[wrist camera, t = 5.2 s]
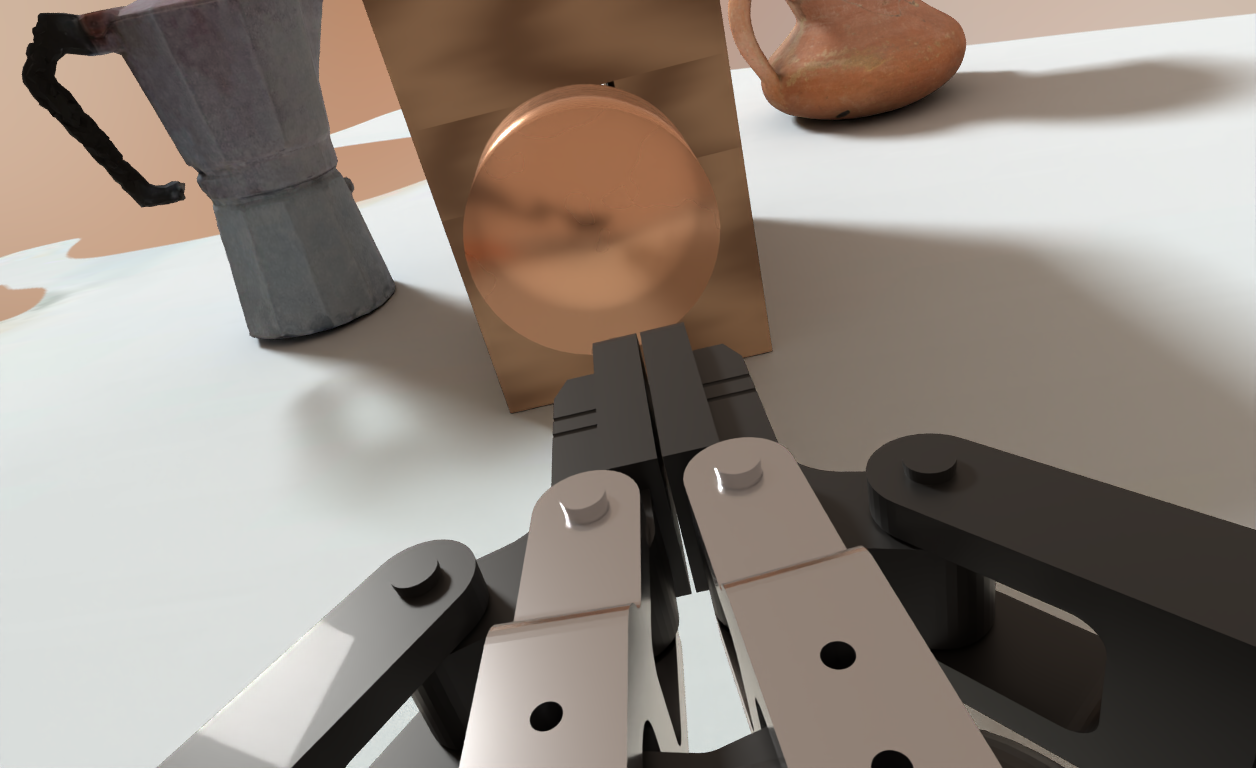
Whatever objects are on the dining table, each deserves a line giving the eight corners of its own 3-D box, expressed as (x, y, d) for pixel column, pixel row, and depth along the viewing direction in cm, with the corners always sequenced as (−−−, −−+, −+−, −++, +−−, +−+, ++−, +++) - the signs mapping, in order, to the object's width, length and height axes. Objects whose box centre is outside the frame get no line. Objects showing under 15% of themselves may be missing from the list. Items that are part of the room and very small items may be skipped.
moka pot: (467, 268, 49) (336, -105, 39) (230, 396, 41) (-15, -37, 31) (389, 252, 55) (258, -72, 45) (170, 359, 47) (-49, -8, 37)
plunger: (507, 378, 20) (425, 145, 17) (527, 164, 39) (489, 33, 36) (738, 323, 20) (695, 77, 17) (647, 133, 38) (619, -1, 35)
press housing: (510, 413, 33) (359, -8, 25) (523, 257, 48) (432, -33, 40) (772, 350, 32) (704, -100, 24) (700, 213, 48) (644, -89, 40)
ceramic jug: (911, 64, 68) (898, -130, 61) (1028, 82, 55) (1028, -159, 48) (714, 127, 66) (678, -64, 59) (789, 162, 53) (753, -77, 46)
